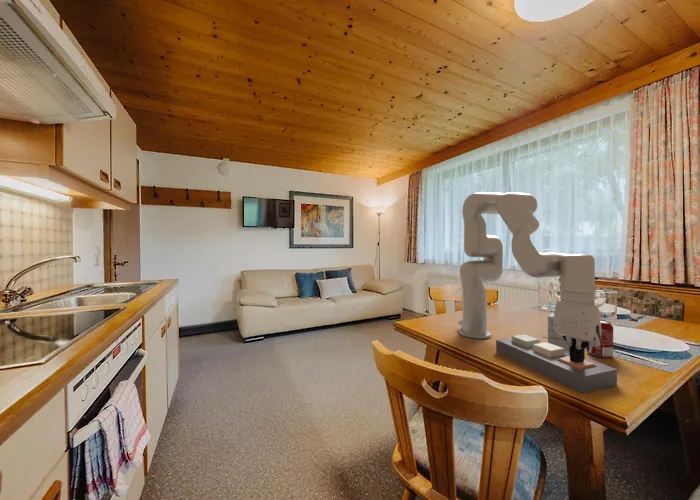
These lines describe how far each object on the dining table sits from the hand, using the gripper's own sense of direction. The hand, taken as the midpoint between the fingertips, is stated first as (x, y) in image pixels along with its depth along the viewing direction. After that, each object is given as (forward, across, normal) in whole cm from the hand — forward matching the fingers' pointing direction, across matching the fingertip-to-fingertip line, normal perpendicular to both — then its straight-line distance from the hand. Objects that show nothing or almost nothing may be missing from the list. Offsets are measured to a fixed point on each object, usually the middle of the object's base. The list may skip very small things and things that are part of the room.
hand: (576, 361), depth 77 cm
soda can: (+5, -9, +25) cm, 27 cm away
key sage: (+2, -16, 0) cm, 16 cm away
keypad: (+5, -8, 0) cm, 10 cm away
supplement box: (+5, -16, +17) cm, 24 cm away
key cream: (+2, -8, 0) cm, 8 cm away
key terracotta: (+3, 0, 0) cm, 3 cm away
